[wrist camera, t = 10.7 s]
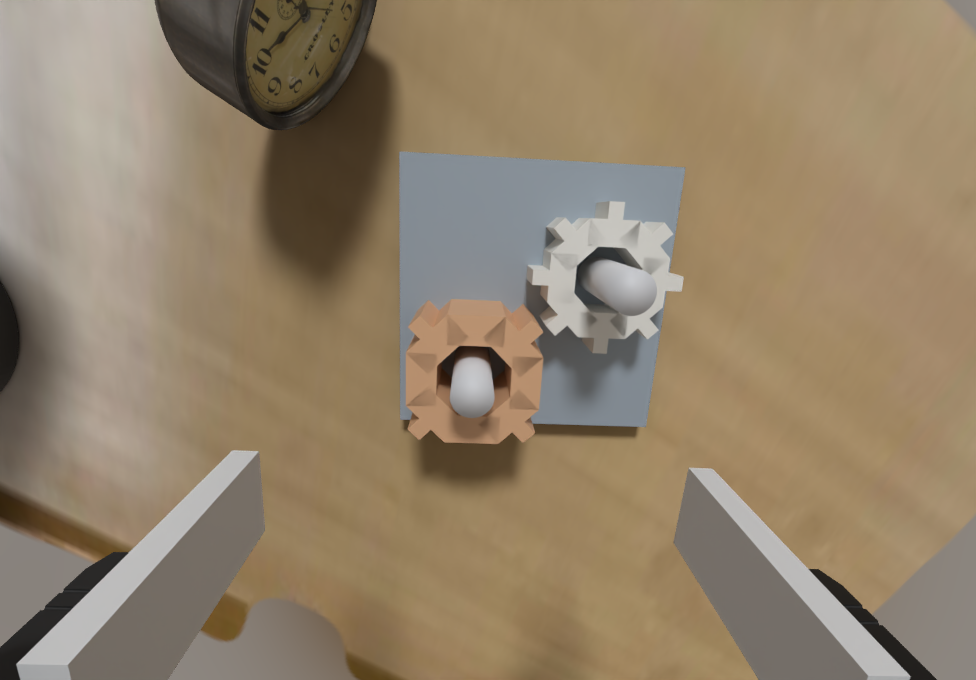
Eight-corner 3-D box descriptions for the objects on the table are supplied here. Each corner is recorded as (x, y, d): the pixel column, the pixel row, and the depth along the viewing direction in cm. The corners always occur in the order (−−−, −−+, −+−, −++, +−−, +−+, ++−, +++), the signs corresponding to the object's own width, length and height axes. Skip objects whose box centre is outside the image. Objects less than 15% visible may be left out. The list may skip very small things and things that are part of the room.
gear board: (403, 410, 34) (379, 477, 25) (403, 154, 29) (373, 128, 21) (638, 418, 35) (693, 485, 26) (675, 169, 30) (756, 150, 21)
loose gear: (415, 407, 32) (405, 441, 28) (416, 297, 30) (405, 312, 26) (526, 411, 33) (535, 445, 28) (535, 302, 31) (546, 318, 26)
